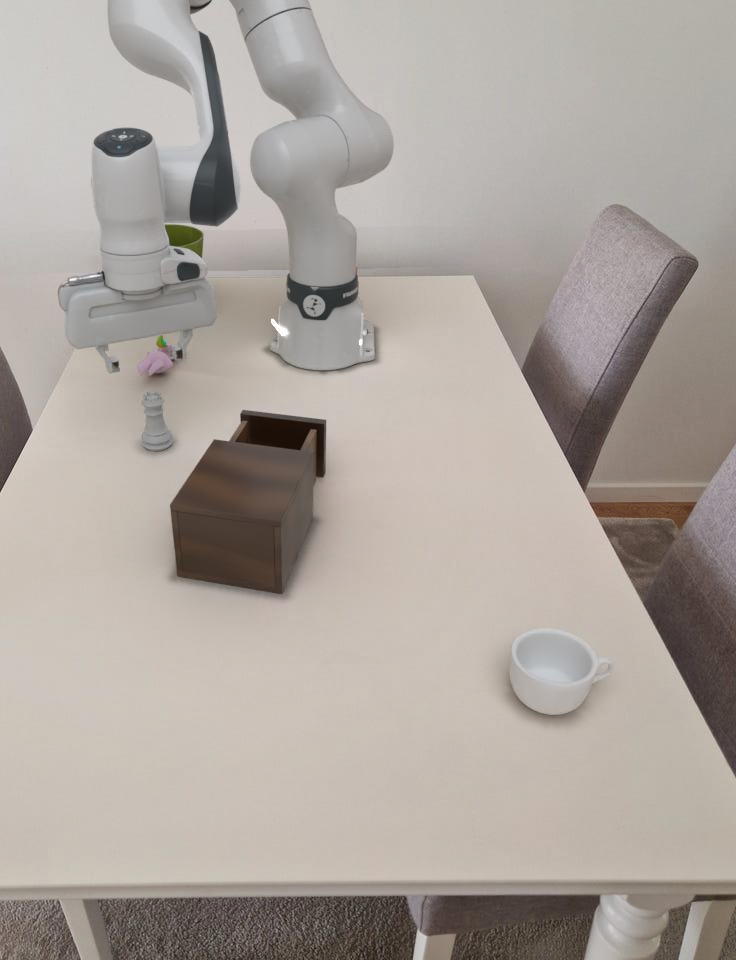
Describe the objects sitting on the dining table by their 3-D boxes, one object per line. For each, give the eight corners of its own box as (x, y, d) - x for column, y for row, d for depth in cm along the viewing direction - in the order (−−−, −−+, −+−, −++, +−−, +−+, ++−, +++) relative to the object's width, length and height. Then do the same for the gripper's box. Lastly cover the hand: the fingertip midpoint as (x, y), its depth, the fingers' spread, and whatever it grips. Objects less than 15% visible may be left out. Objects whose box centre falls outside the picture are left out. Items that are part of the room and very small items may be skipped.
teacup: (517, 730, 78) (526, 689, 75) (494, 669, 85) (501, 629, 82) (622, 722, 79) (635, 681, 76) (591, 662, 85) (601, 623, 82)
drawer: (255, 445, 120) (253, 393, 116) (333, 455, 118) (334, 403, 113) (212, 517, 106) (208, 461, 101) (300, 531, 103) (300, 474, 98)
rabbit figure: (156, 359, 150) (126, 383, 137) (154, 326, 148) (124, 347, 134) (190, 361, 149) (164, 386, 136) (189, 328, 147) (162, 350, 133)
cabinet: (218, 506, 109) (213, 438, 104) (312, 520, 106) (313, 451, 101) (177, 576, 98) (169, 504, 92) (282, 594, 95) (280, 521, 89)
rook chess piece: (138, 440, 124) (132, 391, 119) (168, 434, 125) (163, 385, 121) (146, 455, 120) (140, 405, 116) (177, 448, 122) (172, 399, 117)
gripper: (60, 287, 102) (76, 389, 110) (218, 263, 109) (223, 360, 117) (50, 271, 107) (66, 369, 115) (202, 248, 114) (207, 343, 122)
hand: (146, 364), depth 116 cm, fingers open, 8 cm apart
